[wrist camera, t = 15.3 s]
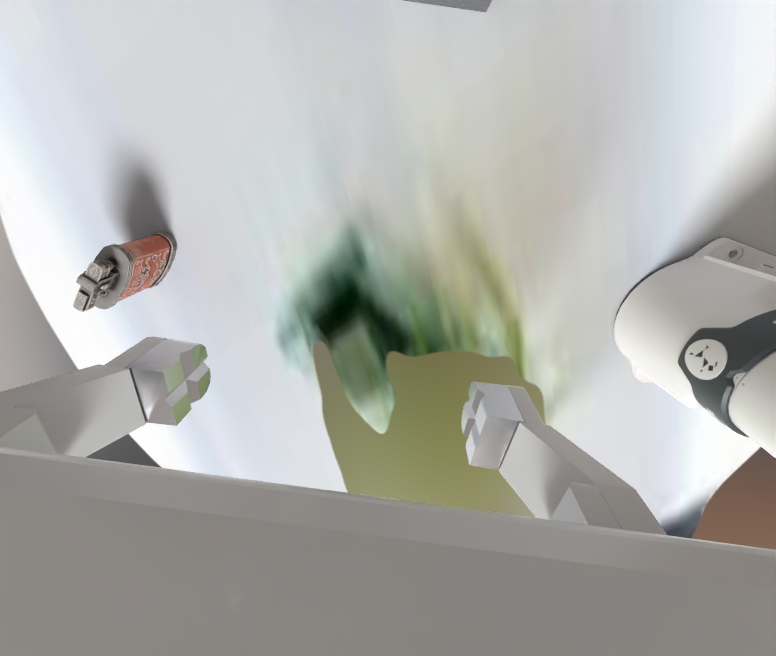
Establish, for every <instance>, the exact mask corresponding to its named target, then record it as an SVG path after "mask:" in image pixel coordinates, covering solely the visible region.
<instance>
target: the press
mask: <svg viewBox="0 0 776 656" xmlns="http://www.w3.org/2000/svg"><path fill="white" fill-rule="evenodd" d="M405 1H412V2H419V3H426V4H433V5H440V6H447V7H454V8H461V9H468V10H475V11H483V12H486V11H487V9H488V7H489V5H490V3H491V1H492V0H405Z"/></svg>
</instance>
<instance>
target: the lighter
mask: <svg viewBox="0 0 776 656" xmlns="http://www.w3.org/2000/svg"><path fill="white" fill-rule="evenodd" d="M176 250H177V243H176V241H175V239H174V238H173V237H172V236H171V235H169V234H168V233H165V232H158V233H154V234H152V235H151V236H150V237H146V238H143V239H139V240H135V241H132V242H128V243H124V244H121V245H117V244H114V245H109V246H106V247H104V248H103V249H102V250H101V251H100V253H99V254H98V255H97V257H96V258H95V260H94V262H92V263H90V264H89V265H88V268H87V271H85V272H84V273H83V274H81V275H80V276H79V277H78V279H77V281H76V282H77V283H78V284H80V285H81V286H80V288H79V291H78V294H77V296H76V299H75V301H74V305H73V306H74V308H76V309H77V310H79V311H82V312H84V311H86V310H89V309H91V308H93V307H94V306H96V307H98V308H101V309H108V308H110V307H112V306H114V305H115V304H116V303H117V302H118V301H120V300H122V299H125V298H127V297H129V296H131V295H133V294H135V293H137V292H140V291H142V290H144V289H146V288H152V287H154V286H156V285H158V284H159V283H160V282H161V281H162V280H163V279H164V278H165V276H166V275H167V273H168V272H169V270H170V268H171V266H172V263H173V261H174V259H175V254H176Z"/></svg>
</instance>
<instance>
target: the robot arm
mask: <svg viewBox="0 0 776 656" xmlns="http://www.w3.org/2000/svg"><path fill="white" fill-rule="evenodd" d="M731 251H732V252H731ZM730 252H731V254H730V255H729V253H730ZM614 337H615V342H616V344H617V347H618V348H619V350H620V351H621V353H622V354H623V355H624V356H625V357H626V358H627V359H628V360H629V361H630V363H631V368H632V373H633V375H634V377H635V378H636V379H638V380H639V381H641V382H643V383H656V384H657V385H659V386H660V387H662V388H663V389H664V390H666V391H667V392H668V393H670V394H671V395H672V396H674V397H675V398H677V399H678V400H679V401H681V402H682V403H683V404H685V405H686V406H688V407H691V408H696V407H697V408H705V409H706V410H707V411H709V413H710V414H711V415H712V416H713V417H714V418H715V419H717V420H718V421H719V422H721V423H723V424H724V425H727V426H728V427H729V428H731V429H732V430H733V431H735V432H737V433H738V434H741V435H743V436H746V437H750V438H751V439H752V440H754V441H755V442H756V443H757V444H759V445H760V446H761V447H762V448H764V449H765V450H766V451H767V452H769V453H770V454H771V455H772V456H774V457H775V458H776V257H775V256H773V255H770V254H767V253H765V252H762V251H760V250H757V249H755V248H752V247H749V246H747V245H744V244H742V243H739V242H736V241H734V240H731V239H729V238H718V239H716V240H714V241H712V242H710V243H709V244H707V245H706V246H704V247H703V248H702V249H700V250H699V251H698V252H696V253H695V254H694V255H693V256H691V257H689V258H687V259H684V260H682V261H679V262H676V263H674V264H671V265H669V266H667V267H665V268H663V269H661V270H659V271H657V272H655V273H654V274H652V275H651V276H649V277H648V278H646V279H645V280H644V281H643V282H641V283H640V284H639V285H638V286H637V287H636V288H635V289H634V290H633V291H632V292H631V293H630V294H629V296H628V297H627V298H626V300H625V301H624V303H623V304H622V306H621V308H620V310H619V312H618V314H617V317H616V320H615V325H614ZM207 357H208V356H207V352H206V347H205V346H203V345H202V344H198V343H191V342H185V341H179V340H172V339H166V338H158V337H147V338H145V339H144V340H142V341H141V342H139V343H138V344H136V345H135V346H133V347H131V348H130V349H128V350H127V351H125V352H124V353H122V354H121V355H119V356H118V357H116V358H115V359H113V360H111V361H110V362H108V363H107V364H105V365H95V366H92V367H88V368H84V369H81V370H77V371H74V372H70V373H67V374H63V375H59V376H56V377H52V378H49V379H45V380H41V381H38V382H35V383H31V384H27V385H23V386H20V387H16V388H13V389H9V390H6V391H2V392H0V656H776V550H771V549H764V548H757V547H749V546H741V545H733V544H727V543H719V542H711V541H704V540H697V539H689V538H682V537H674V536H667V534H666V533H665V531H664V530H663V529H662V527H661V526H660V524H659V523H658V521H657V520H656V519H655V517H654V516H653V514H652V513H651V511H650V510H649V509H648V507H647V506H646V504H645V503H644V501H643V500H642V499H641V497H640V496H639V494H638V493H637V491H636V490H635V489H634V488H633V487H631V486H630V485H628V484H627V483H626V482H624V481H623V480H622V479H620V478H619V477H618V476H616V475H615V474H614V473H612V472H611V471H610V470H608V469H607V468H606V467H604V466H603V465H602V464H600V463H599V462H598V461H596V460H595V459H594V458H592V457H591V456H590V455H588V454H587V453H586V452H584V451H583V450H582V449H580V448H579V447H578V446H576V445H575V444H574V443H572V442H571V441H570V440H568V439H567V438H566V437H564V436H563V435H562V434H560V433H559V432H557V431H556V430H555V429H553V428H552V427H551V426H548V425H544V423H543V422H542V419H541V417H540V416H539V414H538V412H537V410H536V408H535V406H534V404H533V402H532V401H531V399H530V397H529V395H528V393H527V391H526V389H524V388H523V387H519V386H509V385H498V384H489V383H481V382H472V384H471V385H470V388H469V391H468V393H469V397H470V400H469V401H467V402H466V403H465V404H464V408H463V412H462V421H461V422H462V431H463V435H464V436H465V437H466V438H467V439H468V440H467V443H466V451H467V456H468V460H469V465H473V466H479V467H485V468H491V469H498V470H499V472H500V473H501V474H502V476H503V477H504V478H505V479H506V480H507V482H508V483H509V484H510V485H511V487H512V488H513V489H514V491H515V492H516V493H517V494H518V495H519V496H520V498H521V499H522V500H523V502H524V503H525V504H526V505H527V507H528V508H529V509H530V510H531V512H532V513H533V514H534V515H535V517H536V518H532V517H525V516H517V515H510V514H501V513H494V512H487V511H479V510H472V509H463V508H456V507H449V506H441V505H434V504H426V503H419V502H412V501H405V500H397V499H390V498H382V497H375V496H368V495H360V494H353V493H345V492H338V491H331V490H323V489H316V488H308V487H301V486H293V485H286V484H278V483H270V482H263V481H255V480H248V479H240V478H233V477H225V476H218V475H210V474H203V473H195V472H188V471H180V470H173V469H165V468H158V467H150V466H143V465H135V464H128V463H120V462H112V461H106V460H98V459H91V458H84V457H86V456H88V455H90V454H91V453H93V452H95V451H97V450H99V449H101V448H103V447H104V446H106V445H108V444H110V443H112V442H114V441H115V440H117V439H119V438H121V437H123V436H125V435H126V434H128V433H130V432H132V431H134V430H136V429H137V428H139V427H141V426H143V425H145V424H146V422H148V423H157V424H166V425H176V426H177V425H178V424H179V422H180V421H181V420H182V419H183V418H184V417H185V416H186V415H187V414H188V412H189V411H190V410H191V403H193V402H195V401H197V400H199V399H201V398H202V397H203V395H204V394H205V393H206V392H207V389H208V387H209V384H210V377H211V375H210V369H209V368H208V367H207V365H206V364H205V363H204V361H205V360H206V358H207Z"/></svg>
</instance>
